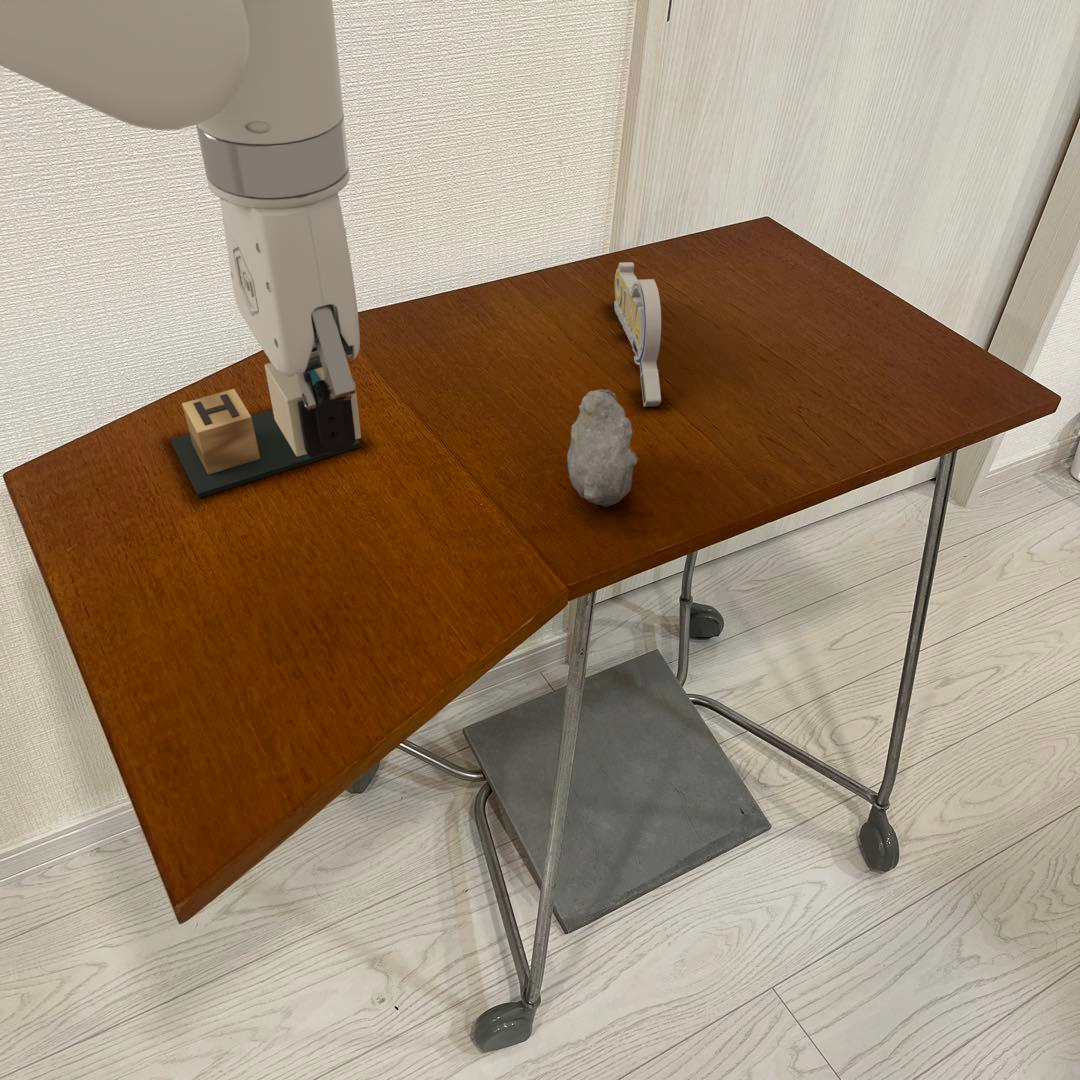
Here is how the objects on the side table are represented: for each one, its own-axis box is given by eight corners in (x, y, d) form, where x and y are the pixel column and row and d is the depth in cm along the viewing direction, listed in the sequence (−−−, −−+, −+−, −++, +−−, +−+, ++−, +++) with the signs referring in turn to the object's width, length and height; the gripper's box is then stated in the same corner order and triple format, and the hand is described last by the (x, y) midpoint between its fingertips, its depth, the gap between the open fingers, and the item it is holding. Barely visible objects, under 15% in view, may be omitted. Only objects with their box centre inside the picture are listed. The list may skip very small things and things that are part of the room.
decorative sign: (612, 336, 106) (616, 241, 101) (624, 336, 106) (629, 241, 101) (645, 411, 91) (653, 304, 86) (660, 410, 92) (668, 303, 86)
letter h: (208, 475, 83) (196, 431, 80) (192, 445, 85) (181, 401, 82) (260, 459, 84) (251, 415, 81) (243, 430, 87) (234, 387, 84)
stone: (668, 515, 82) (684, 416, 75) (596, 543, 79) (606, 442, 72) (607, 450, 87) (616, 352, 80) (538, 474, 85) (542, 375, 78)
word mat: (198, 498, 81) (197, 493, 81) (171, 443, 86) (170, 438, 86) (360, 447, 87) (360, 442, 86) (326, 398, 92) (325, 393, 91)
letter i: (296, 457, 64) (286, 399, 61) (274, 419, 67) (263, 362, 64) (361, 438, 66) (355, 380, 63) (337, 402, 69) (329, 345, 65)
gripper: (163, 107, 57) (222, 375, 70) (256, 234, 47) (306, 522, 60) (290, 87, 60) (325, 348, 73) (405, 203, 50) (422, 484, 62)
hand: (316, 424), depth 66 cm, fingers closed on letter i, 4 cm apart
